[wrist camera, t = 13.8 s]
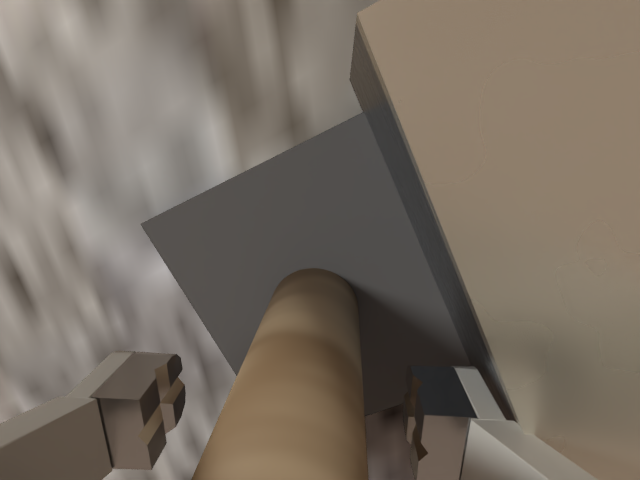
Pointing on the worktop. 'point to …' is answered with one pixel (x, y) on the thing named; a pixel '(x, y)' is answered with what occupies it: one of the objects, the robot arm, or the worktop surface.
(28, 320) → the worktop surface
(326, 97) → the worktop surface
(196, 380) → the worktop surface
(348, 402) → the tan rounded peg
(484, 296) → the grey box with hole
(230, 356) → the mat
